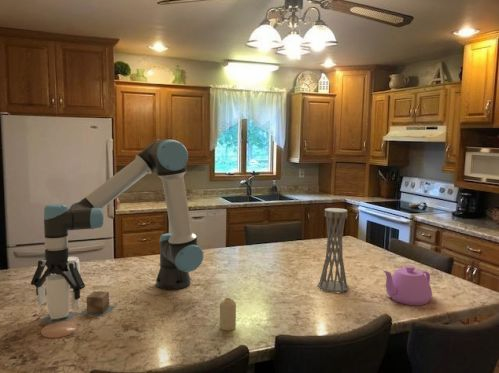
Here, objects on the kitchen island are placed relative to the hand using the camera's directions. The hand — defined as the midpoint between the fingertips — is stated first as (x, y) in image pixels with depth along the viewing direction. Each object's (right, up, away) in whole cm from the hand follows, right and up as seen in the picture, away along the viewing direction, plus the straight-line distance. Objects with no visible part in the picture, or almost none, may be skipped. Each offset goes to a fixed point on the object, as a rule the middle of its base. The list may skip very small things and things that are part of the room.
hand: (58, 305), depth 148 cm
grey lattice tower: (+106, -2, +36) cm, 112 cm away
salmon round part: (+5, -5, -10) cm, 12 cm away
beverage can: (-10, -1, +33) cm, 35 cm away
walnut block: (+12, -4, +7) cm, 14 cm away
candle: (+61, -6, -5) cm, 62 cm away
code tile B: (+12, -4, +7) cm, 14 cm away
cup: (0, -4, +1) cm, 4 cm away
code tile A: (0, -4, +1) cm, 4 cm away
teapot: (+134, -4, +24) cm, 136 cm away
